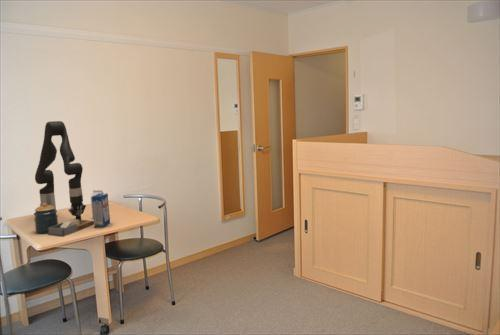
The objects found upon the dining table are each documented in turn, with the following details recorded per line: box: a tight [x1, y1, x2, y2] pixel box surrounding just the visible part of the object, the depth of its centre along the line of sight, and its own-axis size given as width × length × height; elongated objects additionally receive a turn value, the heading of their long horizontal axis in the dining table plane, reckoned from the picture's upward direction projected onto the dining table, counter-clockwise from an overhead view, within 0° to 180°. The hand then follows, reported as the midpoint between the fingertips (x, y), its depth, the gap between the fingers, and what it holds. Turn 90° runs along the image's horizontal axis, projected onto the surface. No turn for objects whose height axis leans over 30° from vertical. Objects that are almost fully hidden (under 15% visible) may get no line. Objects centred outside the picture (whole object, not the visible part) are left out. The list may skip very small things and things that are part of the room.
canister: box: [33, 203, 59, 234], centre depth 247 cm, size 13×13×18 cm
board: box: [77, 219, 94, 232], centre depth 254 cm, size 12×14×2 cm
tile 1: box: [60, 220, 73, 229], centre depth 245 cm, size 5×5×3 cm
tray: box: [47, 222, 78, 237], centre depth 242 cm, size 12×11×4 cm
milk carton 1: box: [90, 189, 104, 219], centre depth 275 cm, size 7×7×19 cm
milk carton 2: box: [91, 192, 111, 229], centre depth 254 cm, size 10×6×20 cm, turn 178°
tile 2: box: [66, 218, 80, 225], centre depth 249 cm, size 5×5×3 cm
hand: (78, 221), depth 253 cm, fingers closed
